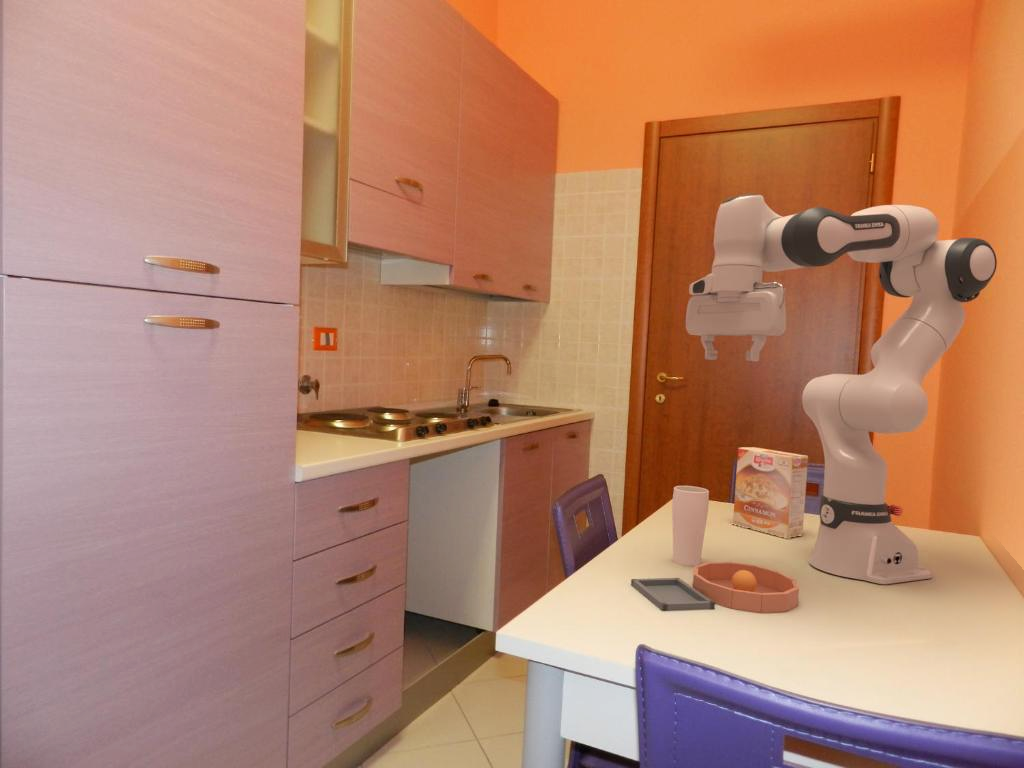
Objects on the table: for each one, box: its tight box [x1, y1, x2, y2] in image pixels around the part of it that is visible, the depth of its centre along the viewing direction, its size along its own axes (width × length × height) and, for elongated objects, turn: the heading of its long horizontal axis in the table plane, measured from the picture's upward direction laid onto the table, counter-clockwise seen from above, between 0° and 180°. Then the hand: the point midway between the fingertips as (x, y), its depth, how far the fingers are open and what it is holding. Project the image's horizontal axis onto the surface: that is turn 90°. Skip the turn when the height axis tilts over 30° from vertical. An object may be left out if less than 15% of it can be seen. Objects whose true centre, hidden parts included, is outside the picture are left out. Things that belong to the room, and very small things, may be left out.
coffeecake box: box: [732, 446, 809, 539], centre depth 165 cm, size 15×7×20 cm, turn 36°
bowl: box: [692, 561, 800, 614], centre depth 115 cm, size 17×17×4 cm
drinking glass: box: [671, 485, 710, 567], centre depth 132 cm, size 7×7×15 cm
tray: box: [630, 577, 716, 612], centre depth 112 cm, size 9×12×2 cm
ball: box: [732, 570, 757, 592], centre depth 115 cm, size 4×4×4 cm
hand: (730, 360), depth 124 cm, fingers open, 8 cm apart
